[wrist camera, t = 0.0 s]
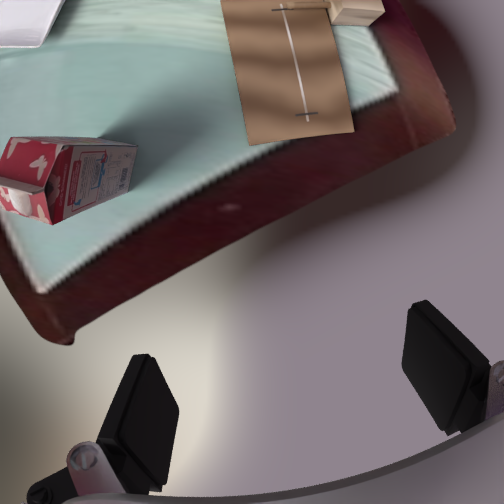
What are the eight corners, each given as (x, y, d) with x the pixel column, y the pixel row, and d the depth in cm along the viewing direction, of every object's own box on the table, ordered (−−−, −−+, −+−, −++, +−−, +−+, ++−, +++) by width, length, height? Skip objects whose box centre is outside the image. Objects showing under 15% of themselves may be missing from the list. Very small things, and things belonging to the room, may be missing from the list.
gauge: (281, -2, 29) (287, -22, 24) (359, -1, 29) (374, -17, 23) (288, 25, 31) (296, 7, 25) (368, 26, 31) (385, 11, 25)
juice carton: (127, 192, 38) (29, 236, 17) (88, 182, 37) (-21, 217, 16) (138, 145, 36) (38, 146, 15) (97, 137, 35) (-15, 138, 14)
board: (220, 4, 30) (220, 0, 28) (318, -4, 29) (320, -8, 28) (249, 145, 37) (249, 145, 36) (351, 132, 36) (354, 131, 35)
